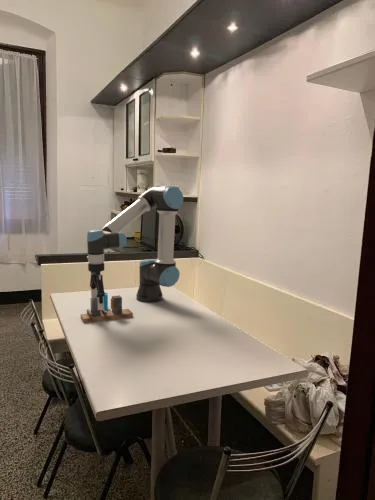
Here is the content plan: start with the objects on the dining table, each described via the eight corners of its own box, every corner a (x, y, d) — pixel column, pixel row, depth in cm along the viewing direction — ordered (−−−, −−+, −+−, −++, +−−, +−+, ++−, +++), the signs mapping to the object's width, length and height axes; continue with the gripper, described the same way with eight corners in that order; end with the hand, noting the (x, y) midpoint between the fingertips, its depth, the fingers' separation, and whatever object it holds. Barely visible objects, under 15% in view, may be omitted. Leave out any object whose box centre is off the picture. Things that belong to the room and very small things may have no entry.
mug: (109, 310, 203) (109, 295, 202) (93, 312, 200) (93, 296, 198) (103, 304, 214) (103, 289, 213) (88, 305, 210) (88, 291, 209)
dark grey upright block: (100, 313, 192) (99, 297, 191) (102, 315, 188) (101, 299, 187) (90, 314, 190) (90, 298, 189) (92, 316, 186) (92, 300, 185)
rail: (128, 312, 200) (128, 293, 199) (132, 316, 194) (132, 297, 192) (80, 318, 190) (80, 298, 188) (83, 322, 183) (83, 302, 182)
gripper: (82, 258, 195) (84, 299, 198) (94, 268, 173) (95, 314, 176) (98, 257, 198) (99, 297, 202) (110, 266, 176) (111, 312, 179)
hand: (97, 305), depth 189 cm, fingers open, 13 cm apart
